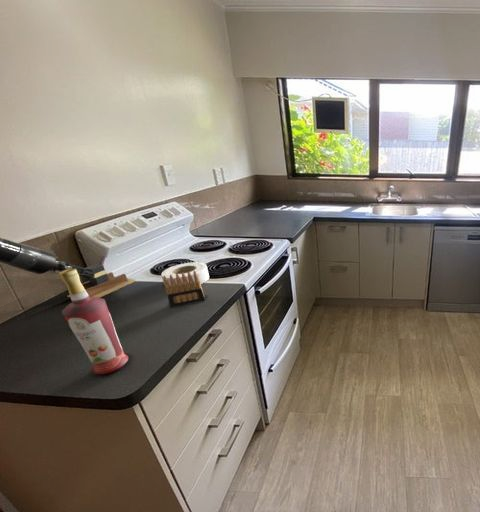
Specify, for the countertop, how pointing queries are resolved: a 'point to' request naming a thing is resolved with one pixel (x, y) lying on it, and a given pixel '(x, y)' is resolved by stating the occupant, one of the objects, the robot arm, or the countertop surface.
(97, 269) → the dark box with band
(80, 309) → the liquor
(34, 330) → the countertop surface
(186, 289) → the ammunition clip
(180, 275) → the tape roll
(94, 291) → the rack
